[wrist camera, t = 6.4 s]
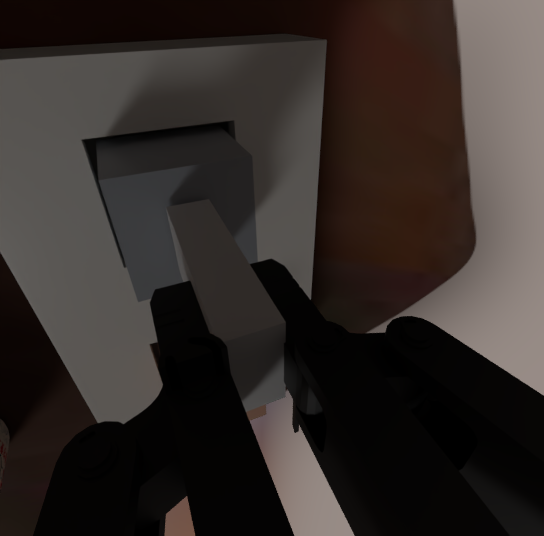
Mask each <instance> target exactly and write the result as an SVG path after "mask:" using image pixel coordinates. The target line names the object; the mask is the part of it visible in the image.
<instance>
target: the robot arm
mask: <svg viewBox="0 0 544 536" xmlns="http://www.w3.org/2000/svg"><path fill="white" fill-rule="evenodd" d="M166 211H167V215H168V220H169V224H170V229H171V234H172V238H173V243H174V247H175V252H176V257H177V261H178V266H179V270H180V274H181V277H182V279H183V282H182V283H178V284H174V285H170V286H166V287H162V288H158V289H155V290H154V293H153V295H152V298H151V301H150V307H151V312H152V317H153V322H154V327H155V332H156V336H157V341H158V346H159V351H160V357H159V361H158V371H159V374H160V377H161V380H162V383H163V386H162V389H161V391H160V393H159V395H158V396H157V398H156V399H155V400H154V401H153V402H152V404H151V405H149V406H148V407H147V408H146V409H145V410H143V411H142V412H141V413H139V414H138V415H136V416H135V417H133V418H132V419H130V420H129V421H127V422H126V423H124V424H122V423H120V422H118V421H104V422H101V423H97V424H94V425H91V426H89V427H87V428H86V429H84V430H83V431H81V432H80V433H78V434H77V435H75V436H74V437H73V439H72V440H71V441H70V442H69V443H68V444H67V445H66V446H65V447H64V449H63V451H62V452H61V454H60V456H59V458H58V460H57V462H56V465H55V468H54V471H53V474H52V478H51V481H50V484H49V487H48V490H47V493H46V497H45V500H44V503H43V506H42V509H41V512H40V515H39V519H38V522H37V525H36V528H35V531H34V534H33V536H164V533H165V518H166V513H167V512H169V511H170V510H171V509H172V508H173V507H174V506H176V505H177V504H178V503H179V502H180V501H181V500H182V499H184V498H185V497H186V496H187V497H188V502H189V506H190V512H191V517H192V521H193V526H194V531H195V536H294V534H293V531H292V528H291V526H290V523H289V521H288V518H287V516H286V513H285V511H284V508H283V506H282V503H281V500H280V498H279V496H278V493H277V490H276V488H275V485H274V482H273V480H272V477H271V475H270V472H269V470H268V467H267V465H266V462H265V459H264V457H263V454H262V452H261V449H260V447H259V444H258V442H257V439H256V436H255V434H254V431H253V429H252V426H251V424H250V421H249V419H248V416H247V413H246V412H247V411H250V410H252V409H255V408H258V407H260V406H263V405H266V404H268V403H271V402H273V401H276V400H279V399H281V398H283V397H285V385H286V387H287V389H288V391H289V392H290V394H291V396H292V398H293V424H292V425H293V429H294V432H295V433H296V432H298V431H299V425H300V427H301V429H302V431H303V433H304V435H305V437H306V439H307V441H308V443H309V445H310V447H311V449H312V451H313V453H314V455H315V457H316V459H317V461H318V463H319V465H320V467H321V469H322V471H323V473H324V475H325V477H326V479H327V481H328V483H329V485H330V487H331V489H332V491H333V493H334V495H335V497H336V499H337V501H338V503H339V505H340V507H341V509H342V511H343V513H344V515H345V517H346V519H347V521H348V523H349V525H350V527H351V529H352V531H353V533H354V535H355V536H544V396H543V395H542V394H540V393H539V392H537V391H536V390H534V389H533V388H531V387H530V386H528V385H526V384H525V383H523V382H522V381H520V380H519V379H517V378H516V377H514V376H512V375H511V374H510V373H508V372H507V371H505V370H503V369H502V368H500V367H499V366H497V365H496V364H494V363H493V362H491V361H489V360H488V359H487V358H485V357H483V356H482V355H480V354H479V353H477V352H476V351H474V350H473V349H471V348H469V347H468V346H467V345H465V344H463V343H462V342H460V341H459V340H457V339H456V338H454V337H453V336H451V335H450V334H448V333H447V332H445V331H444V330H442V329H440V328H439V327H438V326H436V325H434V324H433V323H431V322H429V321H427V320H424V319H422V318H418V317H413V316H403V317H399V318H396V319H394V320H392V321H391V322H390V323H389V325H387V328H386V332H385V333H365V334H357V333H349V332H348V331H347V330H346V329H344V328H343V327H342V326H340V325H338V324H336V323H333V322H330V321H326V320H325V319H324V317H323V316H322V315H321V313H320V312H319V311H318V309H317V308H316V307H315V305H314V304H313V303H312V301H311V300H310V299H309V297H308V296H307V295H306V293H305V292H304V291H303V289H302V288H301V287H299V284H298V283H297V281H296V280H295V279H293V276H292V275H291V273H290V272H289V271H288V269H287V268H286V267H285V266H284V265H282V264H281V263H279V262H277V261H275V260H274V259H268V260H264V261H260V262H256V263H252V264H249V263H248V261H247V259H246V258H245V256H244V255H243V253H242V251H241V250H240V248H239V246H238V245H237V243H236V242H235V240H234V238H233V237H232V235H231V234H230V232H229V230H228V229H227V227H226V226H225V224H224V222H223V221H222V219H221V218H220V216H219V214H218V213H217V211H216V210H215V208H214V206H213V205H212V203H211V202H210V200H209V199H206V200H201V201H195V202H190V203H185V204H180V205H174V206H169V207H166Z"/></svg>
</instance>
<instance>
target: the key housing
mask: <svg viewBox="0 0 544 536" xmlns="http://www.w3.org/2000/svg"><path fill="white" fill-rule="evenodd" d="M326 46H327V40H325V39H319V38H312V37H305V36H298V35H292V34H270V35H252V36H233V37H215V38H196V39H178V40H159V41H141V42H122V43H104V44H86V45H67V46H49V47H30V48H12V49H0V252H1V254H2V256H3V257H4V259H5V261H6V263H7V264H8V266H9V268H10V270H11V271H12V273H13V275H14V277H15V278H16V280H17V282H18V284H19V285H20V287H21V289H22V291H23V292H24V294H25V296H26V298H27V299H28V301H29V303H30V305H31V306H32V308H33V310H34V312H35V313H36V315H37V317H38V319H39V320H40V322H41V324H42V326H43V327H44V329H45V331H46V333H47V335H48V336H49V338H50V340H51V342H52V343H53V345H54V347H55V349H56V350H57V352H58V354H59V356H60V357H61V359H62V361H63V363H64V364H65V366H66V368H67V370H68V371H69V373H70V375H71V377H72V378H73V380H74V382H75V384H76V385H77V387H78V389H79V391H80V392H81V394H82V396H83V398H84V399H85V401H86V403H87V405H88V406H89V408H90V410H91V412H92V413H93V415H94V417H95V419H96V420H97V422H98V423H101V422H104V421H118V422H120V423H122V424H124V423H126V422H127V421H129V420H130V419H132V418H133V417H135V416H136V415H138V414H139V413H141V412H142V411H143V410H145V409H146V408H147V407H148V406H149V405H151V404H152V402H153V401H154V400H155V399H156V398H157V396H158V395H159V393H160V391H161V389H162V386H163V383H162V380H161V377H160V374H159V371H158V361H159V357H160V353H159V348H158V343H157V342H158V341H157V336H156V332H155V327H154V322H153V317H152V312H151V307H150V301H151V299H148V300H144V301H140V302H138V300H137V297H136V294H135V291H134V288H133V285H132V282H131V279H130V276H129V273H128V270H127V267H126V264H125V260H124V257H123V254H122V251H121V248H120V245H119V242H118V239H117V236H116V233H115V230H114V227H113V224H112V221H111V218H110V214H109V211H108V208H107V205H106V202H105V199H104V196H103V193H102V190H101V187H100V184H99V181H98V166H97V149H96V140H99V139H107V138H114V137H122V136H130V135H138V134H146V133H153V132H161V131H169V130H177V129H185V128H192V127H200V126H208V125H216V124H218V125H219V126H220V127H222V128H223V129H224V130H225V131H226V132H227V133H228V134H229V135H230V136H231V137H232V138H233V139H235V140H236V141H237V142H238V143H239V144H240V145H241V146H242V147H243V148H244V149H245V150H247V151H248V152H249V153H250V154H251V155H252V161H253V180H254V199H255V218H256V237H257V256H258V262H260V261H264V260H268V259H274V260H275V261H277V262H279V263H281V264H282V265H284V266H285V267H286V268H287V269H288V271H289V272H290V273H291V275H292V276H293V279H295V280H296V281H297V283H298V284H299V287H301V288H302V289H303V291H304V292H305V293H306V295H307V296H308V297H309V299H310V300H311V289H312V273H313V257H314V241H315V224H316V208H317V192H318V176H319V159H320V143H321V127H322V111H323V94H324V78H325V62H326ZM285 386H286V385H285Z"/></svg>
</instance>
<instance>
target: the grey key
mask: <svg viewBox="0 0 544 536" xmlns="http://www.w3.org/2000/svg"><path fill="white" fill-rule="evenodd" d="M96 149H97V166H98V181H99V184H100V187H101V190H102V193H103V196H104V199H105V202H106V205H107V208H108V211H109V214H110V218H111V221H112V224H113V227H114V230H115V233H116V236H117V239H118V242H119V245H120V248H121V251H122V254H123V257H124V260H125V264H126V267H127V270H128V273H129V276H130V279H131V282H132V285H133V288H134V291H135V294H136V297H137V300H138V302H140V301H144V300H148V299H151V298H152V295H153V293H154V290H155V289H158V288H162V287H166V286H170V285H174V284H178V283H182V282H183V279H182V277H181V274H180V270H179V266H178V261H177V257H176V252H175V247H174V243H173V238H172V234H171V229H170V224H169V220H168V215H167V211H166V207H169V206H174V205H180V204H185V203H190V202H195V201H201V200H206V199H209V200H210V202H211V203H212V205H213V206H214V208H215V210H216V211H217V213H218V214H219V216H220V218H221V219H222V221H223V222H224V224H225V226H226V227H227V229H228V230H229V232H230V234H231V235H232V237H233V238H234V240H235V242H236V243H237V245H238V246H239V248H240V250H241V251H242V253H243V255H244V256H245V258H246V259H247V261H248V263H249V264H252V263H256V262H258V256H257V237H256V218H255V199H254V180H253V161H252V155H251V154H250V153H249V152H248V151H247V150H245V149H244V148H243V147H242V146H241V145H240V144H239V143H238V142H237V141H236V140H235V139H233V138H232V137H231V136H230V135H229V134H228V133H227V132H226V131H225V130H224V129H223V128H222V127H220V126H219V125H218V124H216V125H208V126H200V127H192V128H185V129H177V130H169V131H161V132H153V133H146V134H138V135H130V136H122V137H114V138H107V139H99V140H96Z"/></svg>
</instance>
